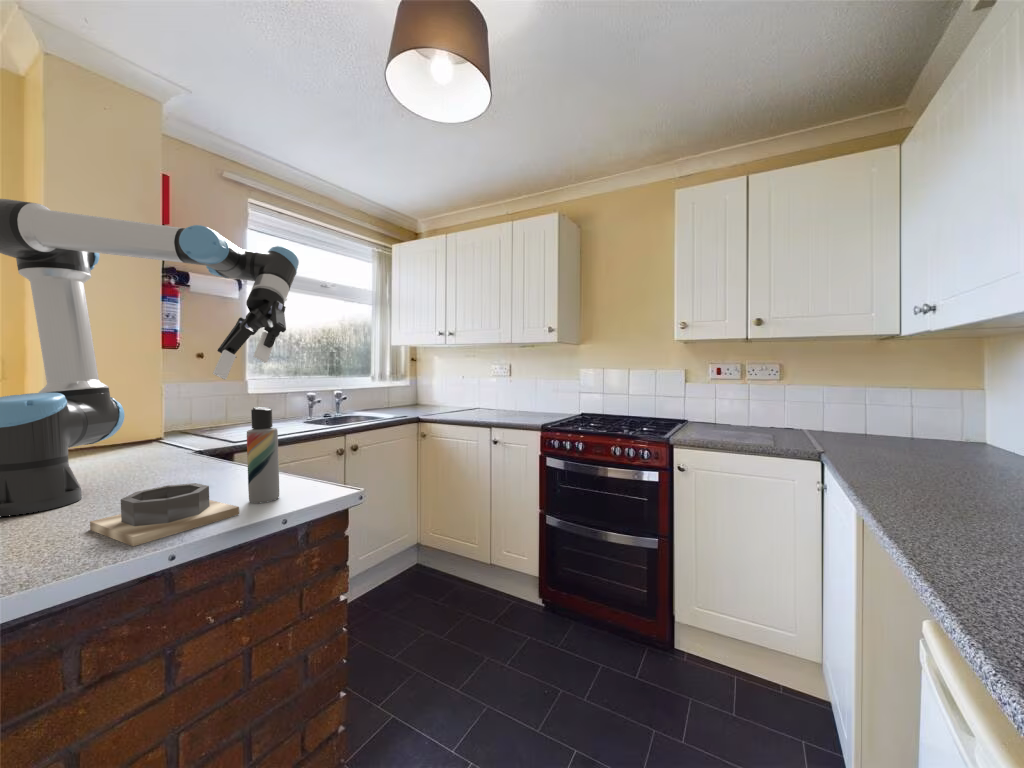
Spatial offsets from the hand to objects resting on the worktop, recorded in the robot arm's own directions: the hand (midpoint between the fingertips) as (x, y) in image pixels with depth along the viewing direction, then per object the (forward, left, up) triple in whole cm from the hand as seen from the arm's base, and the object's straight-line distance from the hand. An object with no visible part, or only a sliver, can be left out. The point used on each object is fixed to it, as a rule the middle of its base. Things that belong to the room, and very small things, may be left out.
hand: (239, 368), depth 90 cm
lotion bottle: (+6, +1, -29) cm, 29 cm away
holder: (+3, -15, -28) cm, 32 cm away
